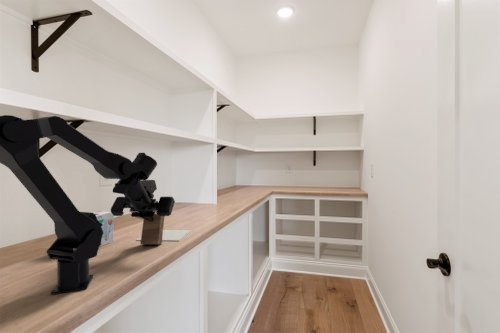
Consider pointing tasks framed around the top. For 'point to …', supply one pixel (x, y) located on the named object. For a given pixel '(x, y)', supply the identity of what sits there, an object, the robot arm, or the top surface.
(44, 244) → the top surface
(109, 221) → the light bulb box
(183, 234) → the mat
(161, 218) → the walnut block
